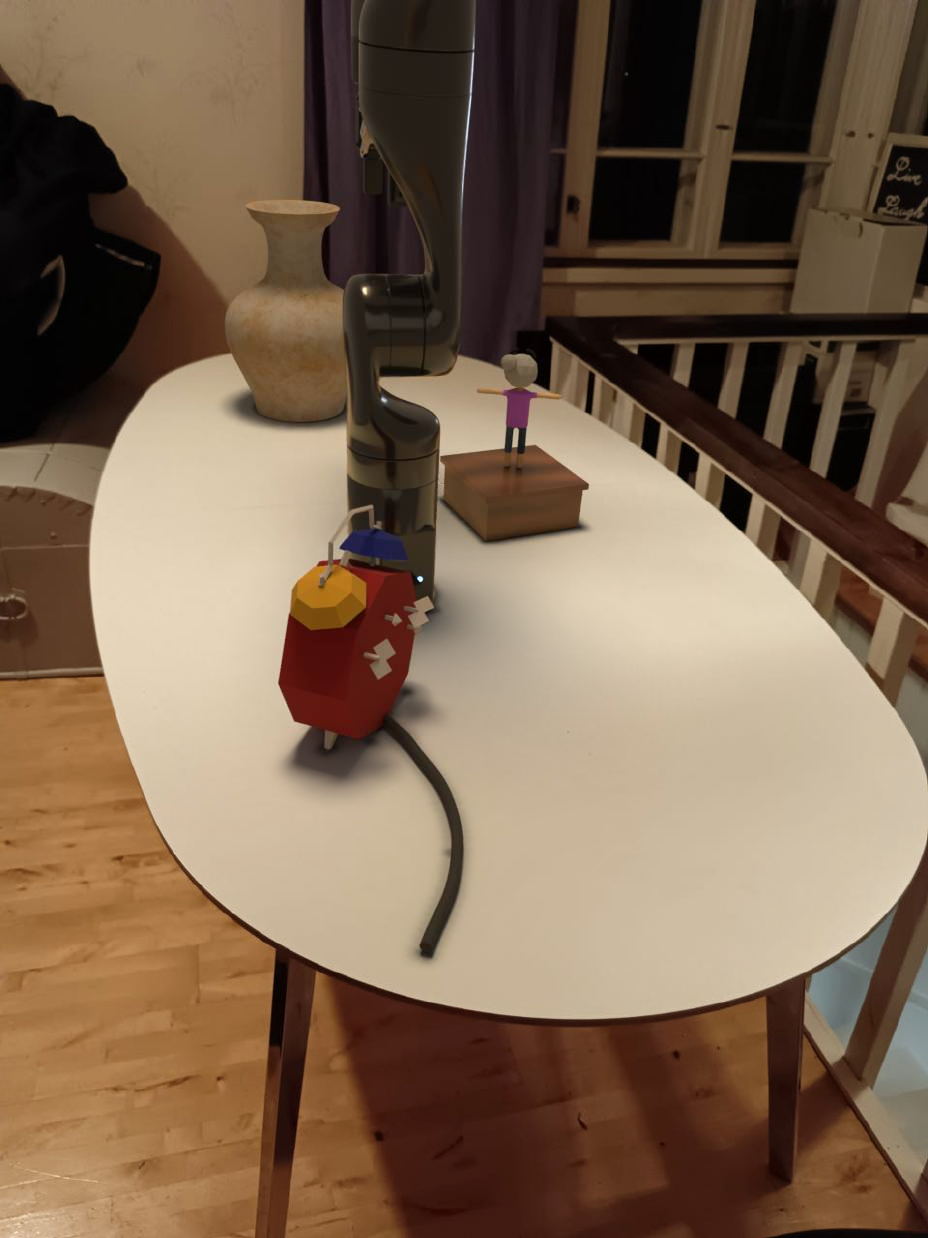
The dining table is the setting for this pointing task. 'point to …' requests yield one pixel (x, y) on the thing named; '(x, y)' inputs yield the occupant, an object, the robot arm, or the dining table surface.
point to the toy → (518, 399)
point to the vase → (291, 318)
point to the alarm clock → (351, 635)
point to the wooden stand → (512, 492)
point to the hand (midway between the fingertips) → (384, 199)
